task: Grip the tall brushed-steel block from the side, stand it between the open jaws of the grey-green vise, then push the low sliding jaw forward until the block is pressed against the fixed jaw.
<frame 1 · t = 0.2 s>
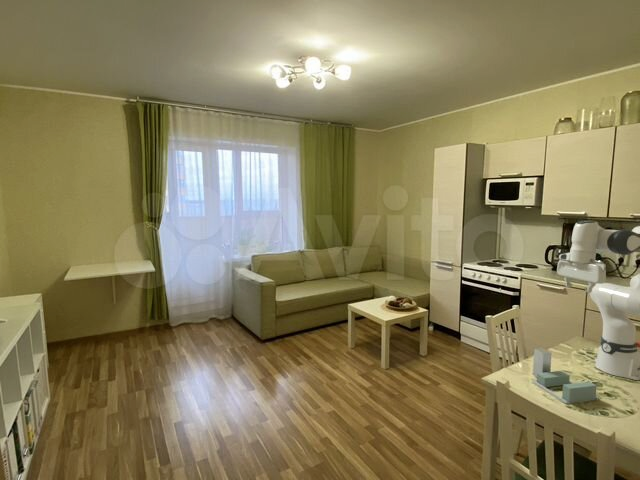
hand: (578, 289, 148), 39 cm above the table, tool pointing down, fingers open, 8 cm apart
fixed jaw: (564, 390, 139), on the table
steel block: (541, 376, 150), on the table
sliding jaw: (553, 378, 144), point 2 cm above the table, slide at 0.0 cm
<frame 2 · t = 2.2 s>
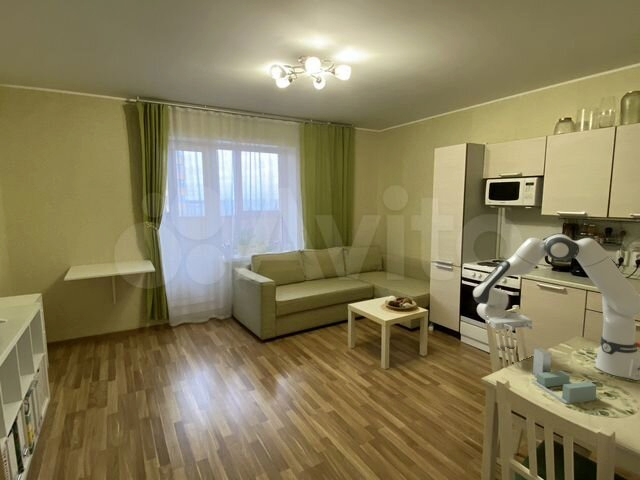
hand: (522, 328, 160), 18 cm above the table, tool horizontal, fingers open, 8 cm apart
nothing on the table moved.
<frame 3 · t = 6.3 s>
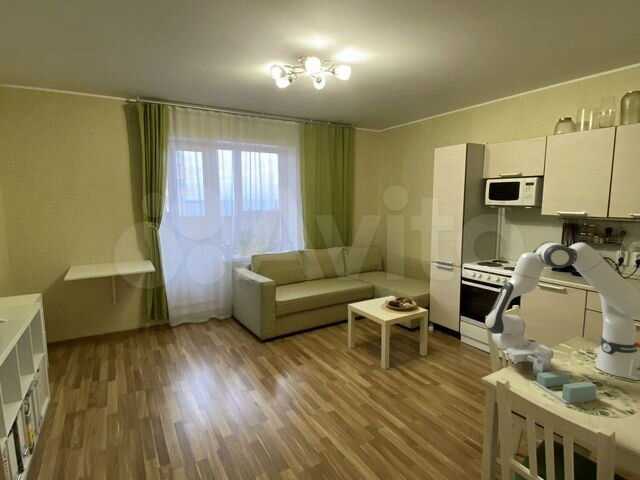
hand: (543, 361, 149), 8 cm above the table, tool horizontal, fingers closed on steel block, 4 cm apart
steel block: (541, 376, 150), on the table, touching gripper
everything else where it was.
when the fingers open (9 cm above the table, at t = 11.5 s): steel block drops 1 cm, resting in fixed jaw.
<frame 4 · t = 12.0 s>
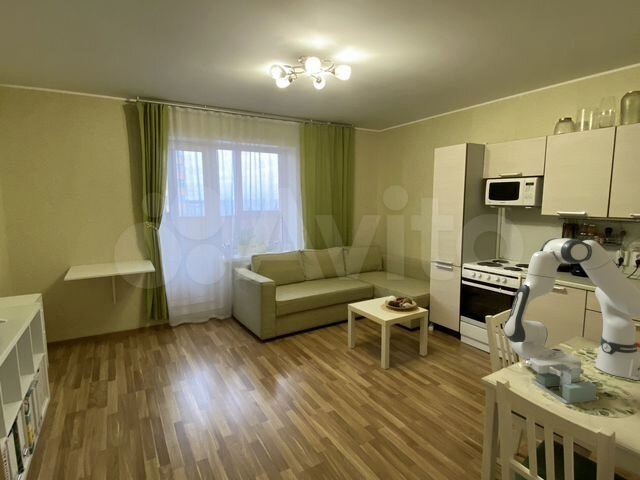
hand: (572, 373, 135), 9 cm above the table, tool horizontal, fingers open, 8 cm apart
steel block: (568, 393, 137), resting in fixed jaw
everything else where it was.
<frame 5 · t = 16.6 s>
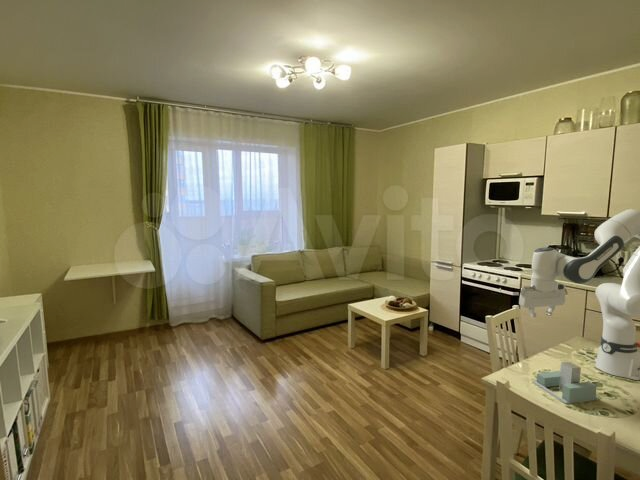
hand: (541, 316, 149), 27 cm above the table, tool pointing down, fingers open, 7 cm apart
nothing on the table moved.
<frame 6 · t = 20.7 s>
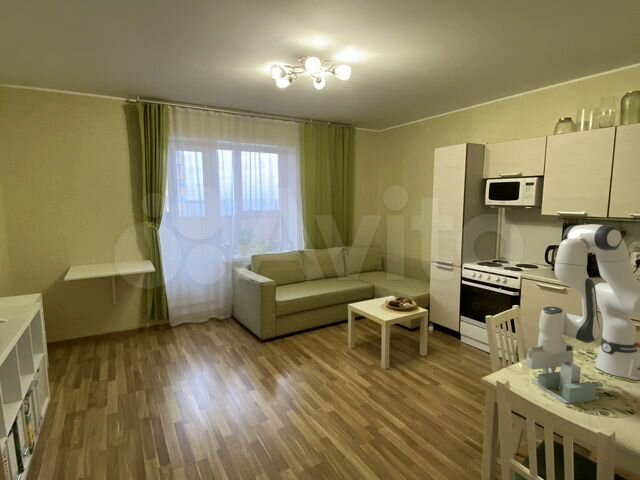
hand: (548, 376, 146), 2 cm above the table, tool pointing down, fingers closed, pressing on sliding jaw
sliding jaw: (554, 379, 144), point 2 cm above the table, slide at 0.6 cm, touching gripper
everything else where it was.
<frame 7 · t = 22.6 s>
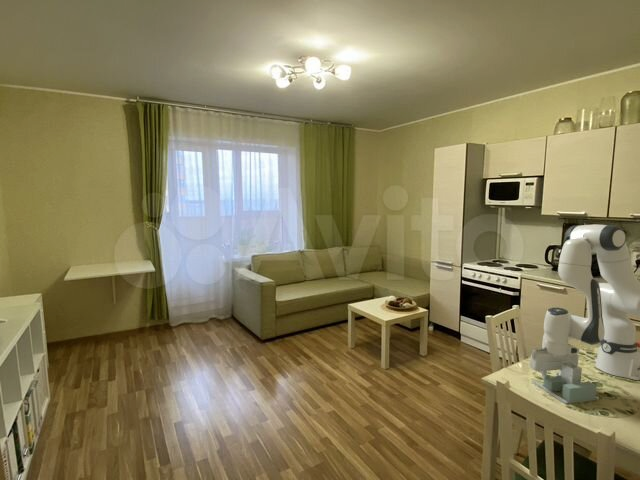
hand: (552, 378, 143), 3 cm above the table, tool pointing down, fingers open, 5 cm apart
steel block: (569, 394, 136), resting in fixed jaw, touching sliding jaw
sliding jaw: (560, 383, 141), point 2 cm above the table, slide at 3.5 cm, touching gripper, steel block
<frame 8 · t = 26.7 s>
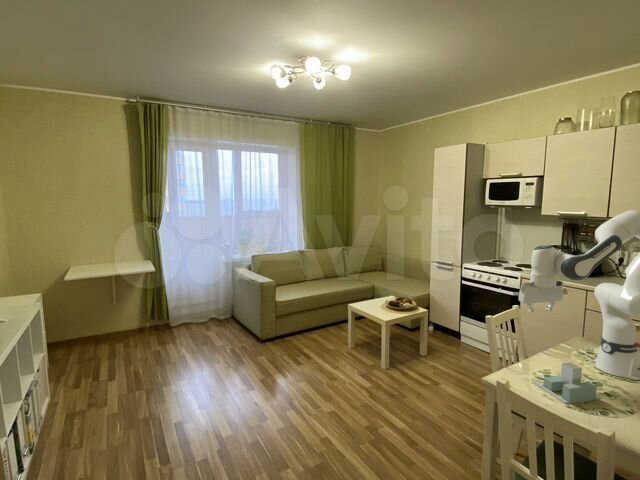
hand: (539, 311, 155), 27 cm above the table, tool pointing down, fingers open, 8 cm apart
steel block: (569, 394, 136), resting in fixed jaw
sliding jaw: (560, 383, 141), point 2 cm above the table, slide at 3.5 cm
at the end: steel block 0.1 cm from the target spot, resting in fixed jaw; sliding jaw slide at 3.5 cm; steel block tilted 0° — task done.
